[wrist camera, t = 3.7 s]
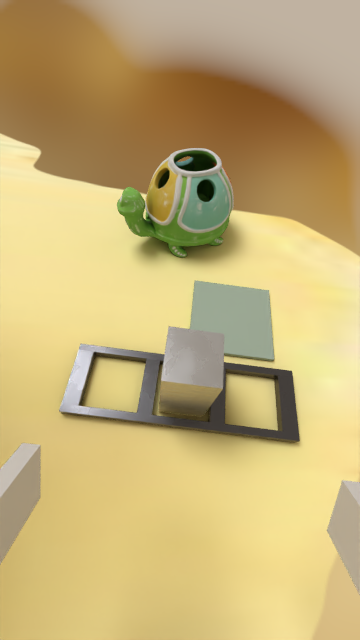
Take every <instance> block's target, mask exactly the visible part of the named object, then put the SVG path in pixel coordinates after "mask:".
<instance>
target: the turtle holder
mask: <svg viewBox="0 0 360 640" xmlns="http://www.w3.org/2000/svg"><path fill="white" fill-rule="evenodd" d="M187 156H190V157H191V158H190V159H188V160H187V161H183V162H177V161H178V160H180V159H182V158H183V157H187ZM233 200H234V198H233V189H232V185H231V181H230V178H229V176H228V174H227V173H226V171H225V169H224V168H223V167H222V164H221V160H220V158H219V157H218V156H217V155H216V154H215V153H214V152H212V151H210V150H208V149H203V148H190V149H184V150H179V151H176V152H174V153H173V154H171V155H170V157H168V159H166V160H165V161H163V162H162V163H161V164H160V166H159V167H158V168H157V170H156V171H155V173H154V175H153V177H152V180H151V183H150V186H149V190H148V193H147V196H146V201H144V199H143V197H142V196H141V194H140V193H139V192H138V191H137V190H135V189H133V188H131V187H127V188H126V189H125V190H124V191H123V194H122V196H121V198H120V199H119V200H118V202H117V207H118V211H119V213H120V214H121V215H123V216H124V217H125V221H126V223H127V225H128V227H129V229H131V231H132V232H133V233H134V234H135V235H138V236H141V237H146V236H150V237H155V238H157V239H159V240H162V241H164V242H166V243H168V247H169V249H170V251H171V252H172V253H173V254H174V255H175V256H178V257H185V256H187V252H186V251H185V250H184V249H183V248H182V247H181V246H198V245H203V244H207V243H208V244H209V245H213V246H216V245H220V244H221V243H222V242H223V239H222V238H221V237H220V236H221V235H222V234H223V233H224V231H225V230H226V228H227V226H228V223H229V216H230V213H231V211H232V210H233V206H234V204H233V202H234V201H233ZM145 207H146V211H147V212H146V220H145V219H144V218H143V212H144V209H145Z"/></svg>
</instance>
